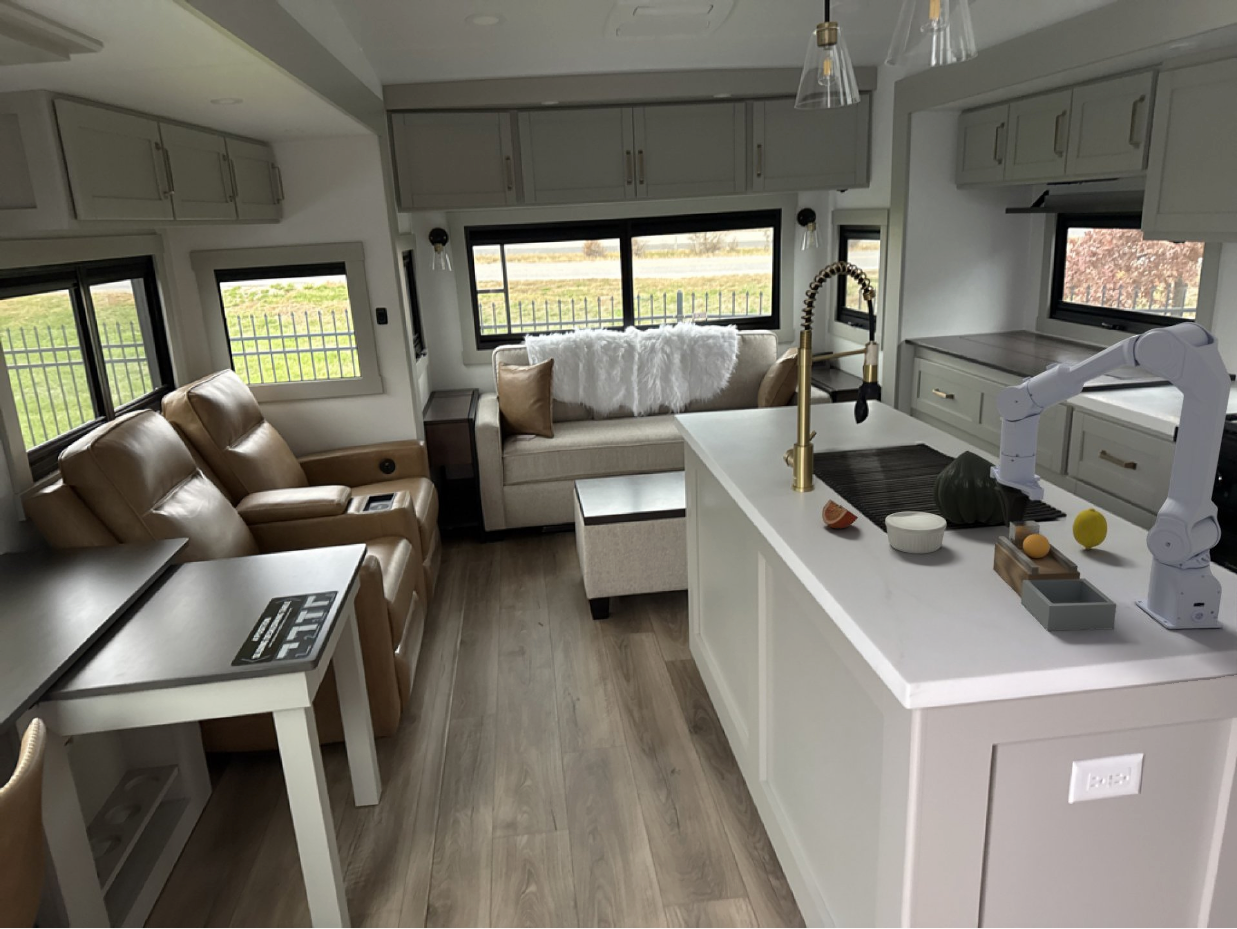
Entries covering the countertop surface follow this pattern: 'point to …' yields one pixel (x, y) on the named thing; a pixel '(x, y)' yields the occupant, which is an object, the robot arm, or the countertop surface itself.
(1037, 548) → the ball
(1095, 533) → the lemon
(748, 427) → the countertop surface
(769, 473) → the countertop surface
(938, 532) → the ramekin
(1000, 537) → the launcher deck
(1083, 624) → the grey open tray
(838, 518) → the fruit slice
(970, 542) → the countertop surface
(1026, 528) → the plunger
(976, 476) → the squash
